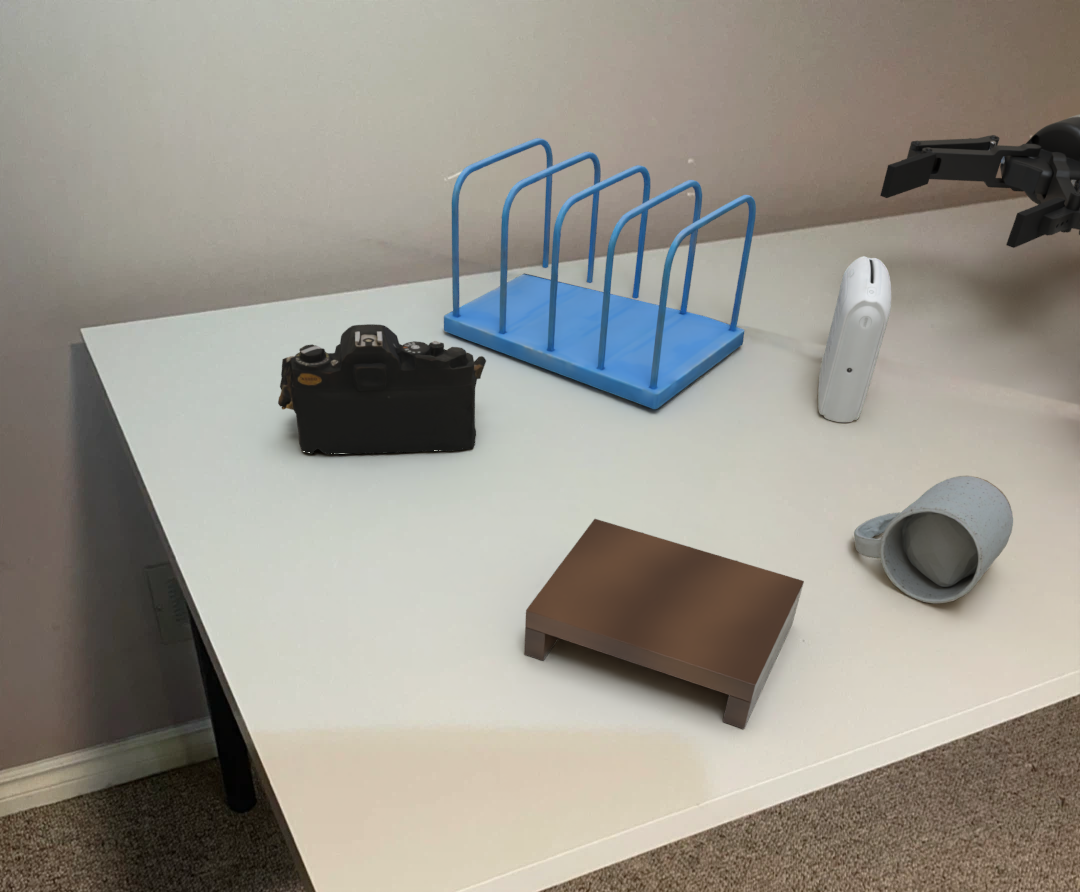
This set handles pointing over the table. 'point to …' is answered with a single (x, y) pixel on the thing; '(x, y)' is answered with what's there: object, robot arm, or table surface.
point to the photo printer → (854, 339)
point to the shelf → (668, 611)
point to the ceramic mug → (940, 539)
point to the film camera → (381, 394)
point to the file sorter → (598, 301)
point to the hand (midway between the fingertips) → (948, 205)
